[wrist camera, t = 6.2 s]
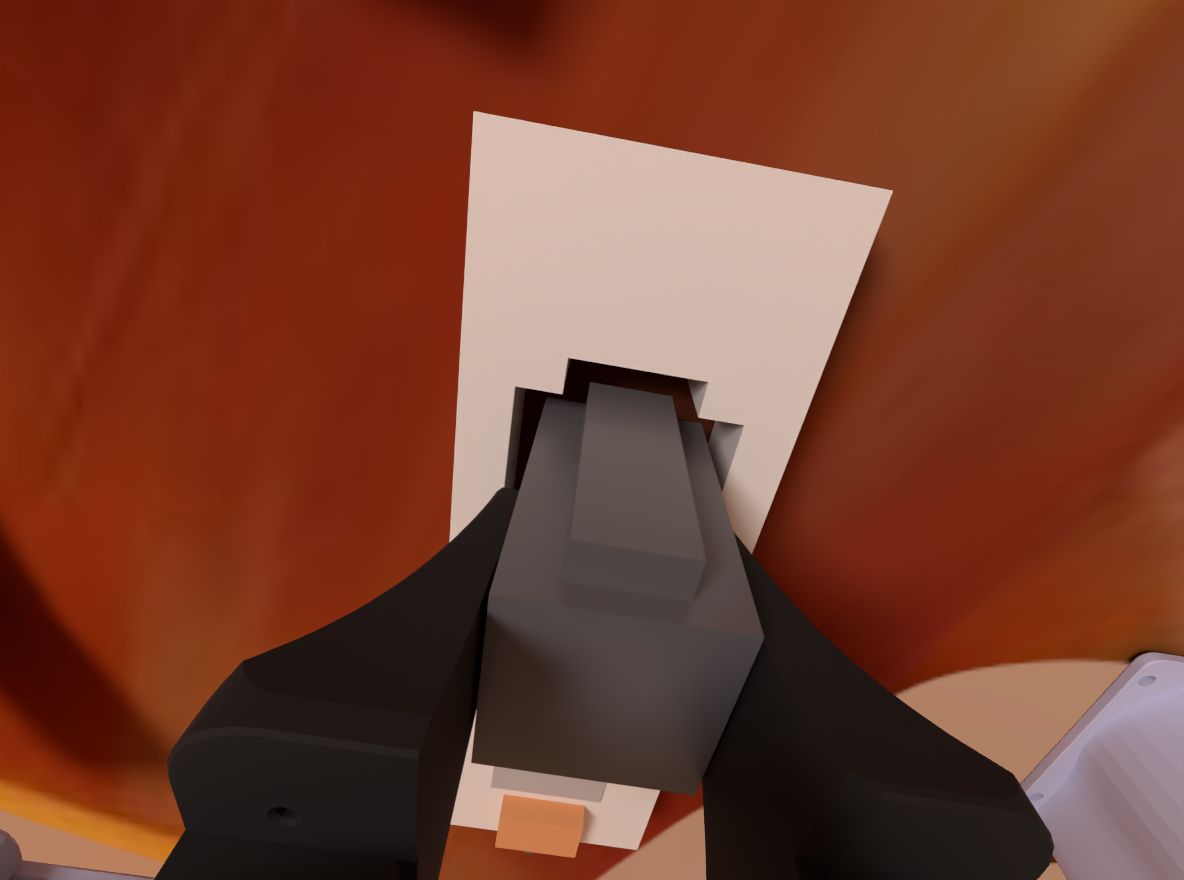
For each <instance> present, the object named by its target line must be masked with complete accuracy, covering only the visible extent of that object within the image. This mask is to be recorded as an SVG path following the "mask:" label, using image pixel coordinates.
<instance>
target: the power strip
mask: <svg viewBox="0 0 1184 880" xmlns="http://www.w3.org/2000/svg"><path fill="white" fill-rule="evenodd" d="M892 192H893V191H892V190H886V189H881V188H876V187H870V186H865V185H860V184H855V183H849V182H844V181H839V180H834V179H828V178H823V177H818V176H812V175H807V174H802V173H797V172H791V171H786V170H781V169H776V168H770V167H765V166H760V165H755V164H749V163H744V162H739V161H733V160H728V159H723V158H718V157H712V156H707V155H702V154H697V153H691V152H686V151H681V150H675V149H670V148H665V147H660V146H654V145H649V144H644V143H639V142H633V141H628V140H623V139H618V138H612V137H607V136H602V135H596V134H591V133H586V132H581V131H575V130H570V129H565V128H560V127H554V126H549V125H544V124H538V123H533V122H528V121H523V120H517V119H512V118H507V117H502V116H496V115H491V114H486V113H481V112H475V111H474V114H473V132H472V150H471V168H470V186H469V204H468V222H467V239H466V257H465V275H464V293H463V311H462V329H461V347H460V365H459V382H458V400H457V418H456V436H455V454H454V472H453V490H452V507H451V525H450V542H451V541H452V540H453V539H454V538H455V537H456V536H457V535H458V534H459V533H460V532H461V531H462V530H463V529H464V528H465V527H466V526H467V525H468V524H469V523H470V522H471V521H472V520H473V519H474V518H475V517H476V516H477V515H478V513H479V512H480V511H481V510H482V509H483V508H484V507H485V506H486V504H487V503H488V502H489V501H490V500H491V498H492V497H493V496H494V495H495V493H496V492H497V491H498V490H499V489H501V488H502V487H505V488H511V489H514V485H515V476H516V468H517V460H518V451H519V443H520V434H521V426H522V418H523V409H524V401H525V392H526V388H528V389H534V390H540V391H545V392H551V393H557V394H563V390H564V385H565V381H566V377H567V372H568V368H569V363H570V359H571V358H572V359H578V360H584V361H589V362H595V363H601V364H607V365H613V366H618V367H624V368H630V369H636V370H641V371H647V372H653V373H659V374H665V375H670V376H676V377H682V378H687V381H688V384H689V387H690V391H691V394H692V398H693V401H694V405H695V408H696V411H697V415H698V418H704V419H710V420H715V423H714V426H713V429H712V433H711V436H710V439H709V442H708V447H709V450H710V454H711V457H712V461H713V464H714V467H715V471H716V474H717V478H718V481H719V484H720V488H721V491H722V495H723V498H724V501H725V505H726V508H727V512H728V515H729V519H730V522H731V525H732V529H733V531H734V532H735V534H736V535H737V536H738V537H739V539H740V540H741V541H742V542H743V544H744V545H745V546H746V548H747V549H748V550H749V551H750V553H751V554H752V553H753V550H754V547H755V545H756V542H757V540H758V537H759V535H760V532H761V529H762V527H763V524H764V522H765V519H766V517H767V514H768V511H769V509H770V506H771V504H772V501H773V499H774V496H775V493H776V491H777V488H778V486H779V483H780V481H781V478H782V475H783V473H784V470H785V468H786V465H787V463H788V460H789V457H790V455H791V452H792V450H793V447H794V445H795V442H796V439H797V437H798V434H799V432H800V429H801V426H802V424H803V421H804V419H805V416H806V414H807V411H808V408H809V406H810V403H811V401H812V398H813V396H814V393H815V390H816V388H817V385H818V383H819V380H820V378H821V375H822V372H823V370H824V367H825V365H826V362H827V360H828V357H829V354H830V352H831V349H832V347H833V344H834V342H835V339H836V336H837V334H838V331H839V329H840V326H841V324H842V321H843V318H844V316H845V313H846V311H847V308H848V306H849V303H850V300H851V298H852V295H853V293H854V290H855V288H856V285H857V282H858V280H859V277H860V275H861V272H862V269H863V267H864V264H865V262H866V259H867V257H868V254H869V251H870V249H871V246H872V244H873V241H874V239H875V236H876V233H877V231H878V228H879V226H880V223H881V221H882V218H883V215H884V213H885V210H886V208H887V205H888V203H889V200H890V197H891V195H892ZM476 712H477V710H476ZM475 722H476V714H475V718H474V723H473V727H472V731H471V736H470V740H469V744H468V748H467V753H466V757H465V762H464V766H463V770H462V775H461V779H460V784H459V788H458V792H457V797H456V801H455V806H454V810H453V815H452V819H451V824H453V825H460V826H467V827H474V828H482V829H489V830H496V831H497V838H496V844H495V847H499V848H506V849H513V850H521V851H524V852H525V853H527V854H532V853H543V854H550V855H557V856H565V857H572V858H575V855H576V851H577V848H578V845H579V842H583V843H590V844H598V845H605V846H612V847H620V848H627V849H634V850H637V849H638V846H639V843H640V841H641V838H642V836H643V833H644V831H645V828H646V825H647V823H648V820H649V818H650V815H651V813H652V810H653V807H654V805H655V802H656V800H657V797H658V795H659V792H660V790H653V789H646V788H640V787H633V786H626V785H619V784H612V783H605V782H598V781H591V780H584V779H578V778H571V777H564V776H557V775H550V774H543V773H536V772H529V771H523V770H516V769H509V768H502V767H495V766H488V765H481V764H474V763H471V759H472V750H473V740H474V731H475Z"/></svg>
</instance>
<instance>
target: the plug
mask: <svg viewBox="0 0 1184 880" xmlns="http://www.w3.org/2000/svg"><path fill="white" fill-rule="evenodd" d="M763 640H764V634H763V631H762V628H761V624H760V621H759V617H758V614H757V610H756V607H755V604H754V600H753V597H752V593H751V590H750V587H749V583H748V580H747V576H746V573H745V570H744V566H743V563H742V559H741V556H740V553H739V549H738V546H737V542H736V539H735V536H734V532H733V529H732V525H731V522H730V519H729V515H728V512H727V508H726V505H725V501H724V498H723V495H722V491H721V488H720V484H719V481H718V478H717V474H716V471H715V467H714V464H713V461H712V457H711V454H710V450H709V447H708V444H707V440H706V437H705V433H704V430H703V427H702V423H696V422H691V421H685V420H679V419H677V417H676V412H675V408H674V403H673V398H672V396H668V395H662V394H657V393H651V392H645V391H639V390H634V389H628V388H622V387H616V386H611V385H605V384H599V383H593V382H590V385H589V391H588V396H587V402H586V403H580V402H574V401H568V400H563V399H557V398H551V397H547V398H546V401H545V405H544V408H543V412H542V415H541V418H540V422H539V425H538V429H537V432H536V435H535V439H534V442H533V446H532V449H531V453H530V456H529V459H528V463H527V466H526V470H525V473H524V476H523V480H522V483H521V487H520V490H519V494H518V497H517V500H516V504H515V507H514V511H513V514H512V517H511V521H510V524H509V528H508V531H507V535H506V538H505V541H504V545H503V548H502V552H501V555H500V559H499V562H498V565H497V569H496V572H495V576H494V579H493V582H492V586H491V589H490V593H489V599H488V608H487V618H486V627H485V637H484V646H483V656H482V665H481V674H480V684H479V693H478V703H477V712H476V722H475V731H474V740H473V750H472V759H471V763H474V764H481V765H488V766H495V767H502V768H509V769H516V770H523V771H529V772H536V773H543V774H550V775H557V776H564V777H571V778H578V779H584V780H591V781H598V782H605V783H612V784H619V785H626V786H633V787H640V788H646V789H653V790H660V791H667V792H674V793H681V794H688V795H695V793H696V791H697V789H698V787H699V784H700V782H701V780H702V778H703V775H704V773H705V771H706V769H707V766H708V764H709V762H710V760H711V757H712V755H713V753H714V751H715V748H716V746H717V744H718V742H719V739H720V737H721V735H722V733H723V730H724V728H725V726H726V724H727V721H728V719H729V717H730V715H731V712H732V710H733V708H734V706H735V703H736V701H737V699H738V697H739V694H740V692H741V690H742V688H743V685H744V683H745V681H746V679H747V676H748V674H749V672H750V669H751V667H752V665H753V663H754V660H755V658H756V656H757V654H758V651H759V649H760V647H761V645H762V642H763Z"/></svg>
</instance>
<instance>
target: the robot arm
mask: <svg viewBox="0 0 1184 880" xmlns="http://www.w3.org/2000/svg"><path fill="white" fill-rule="evenodd" d="M518 494H519V490H517V489H511V488H505V487H502V488H501V489H499V490H498V491H497V492H496V493H495V495H494V496H493V497H492V498H491V500H490V501H489V502H488V503H487V504H486V506H485V507H484V508H483V509H482V510H481V511H480V512H479V513H478V515H477V516H476V517H475V518H474V519H473V520H472V521H471V522H470V523H469V524H468V525H467V526H466V527H465V528H464V529H463V530H462V531H461V532H460V533H459V534H458V535H457V536H456V537H455V538H454V539H453V540H452V541H451V542H449V543H448V544H447V545H446V546H445V547H444V548H443V549H441V550H440V551H439V552H438V553H437V554H436V555H435V556H433V557H432V558H431V559H430V560H429V561H428V562H426V563H425V564H424V565H422V566H421V567H420V568H419V569H417V570H416V571H415V572H413V573H412V574H411V575H409V576H408V577H407V578H405V579H404V580H402V581H401V582H400V583H398V584H397V585H395V586H394V587H392V588H391V589H389V590H388V591H386V592H385V593H383V594H381V595H380V596H378V597H377V598H375V599H374V600H372V601H371V602H369V603H367V604H365V605H364V606H362V607H360V608H359V609H357V610H355V611H353V612H352V613H350V614H348V615H346V616H344V617H342V618H340V619H338V620H336V621H334V622H332V623H331V624H329V625H327V626H325V627H323V628H321V629H318V630H316V631H314V632H312V633H310V634H308V635H306V636H303V637H301V638H299V639H297V640H294V641H292V642H289V643H287V644H284V645H282V646H279V647H277V648H275V649H272V650H270V651H267V652H265V653H262V654H260V655H258V656H255V657H252V658H250V659H247V660H244V661H243V662H241V664H240V665H239V666H238V667H237V668H236V669H235V671H234V672H233V673H232V674H231V675H230V676H229V677H228V678H227V679H226V680H225V681H224V682H223V683H222V684H221V686H220V687H219V688H218V689H217V690H216V691H215V693H214V694H213V695H212V696H211V697H210V699H209V700H208V701H207V702H206V704H205V705H204V707H203V708H202V709H201V711H200V712H199V713H198V715H197V716H196V717H195V719H194V720H193V721H192V723H191V724H190V725H189V727H188V728H187V729H186V731H185V732H184V734H183V735H182V736H181V738H180V739H179V740H178V742H177V743H176V744H175V746H174V747H173V749H172V751H171V754H170V756H169V758H168V761H167V766H168V775H169V780H170V784H171V787H172V790H173V793H174V796H175V799H176V802H177V805H178V808H179V811H180V814H181V817H182V820H183V823H184V826H185V829H186V830H185V832H184V833H183V835H182V836H181V838H180V839H179V841H178V843H177V844H176V846H175V847H174V849H173V850H172V852H171V854H170V855H169V857H168V858H167V860H166V862H165V863H164V865H163V866H162V868H161V869H160V871H159V873H158V874H157V876H156V877H155V878H152V877H145V876H138V875H129V874H122V873H115V872H107V871H99V870H91V869H83V868H77V867H69V866H61V865H53V864H46V863H39V862H31V861H23V860H22V855H21V852H20V849H19V846H18V844H17V843H16V841H15V840H14V839H13V838H12V837H11V836H10V835H9V834H8V833H6V832H4V831H2V830H0V880H438V878H439V873H440V869H441V864H442V860H443V855H444V851H445V846H446V842H447V837H448V833H449V828H450V824H451V819H452V815H453V810H454V806H455V801H456V797H457V792H458V788H459V784H460V779H461V775H462V770H463V766H464V762H465V757H466V753H467V748H468V744H469V740H470V736H471V731H472V727H473V723H474V718H475V714H476V710H477V703H478V693H479V684H480V674H481V665H482V656H483V646H484V637H485V627H486V618H487V608H488V599H489V593H490V589H491V586H492V582H493V579H494V576H495V572H496V569H497V565H498V562H499V559H500V555H501V552H502V548H503V545H504V541H505V538H506V535H507V531H508V528H509V524H510V521H511V517H512V514H513V511H514V507H515V504H516V500H517V497H518ZM733 532H734V531H733ZM734 536H735V539H736V542H737V546H738V549H739V553H740V556H741V559H742V563H743V566H744V570H745V573H746V576H747V580H748V583H749V587H750V590H751V593H752V597H753V600H754V604H755V607H756V610H757V614H758V617H759V621H760V624H761V628H762V631H763V634H764V640H763V642H762V645H761V647H760V649H759V651H758V654H757V656H756V658H755V660H754V663H753V665H752V667H751V669H750V672H749V674H748V676H747V679H746V681H745V683H744V685H743V688H742V690H741V692H740V694H739V697H738V699H737V701H736V703H735V706H734V708H733V710H732V712H731V715H730V717H729V719H728V721H727V724H726V726H725V728H724V730H723V733H722V735H721V737H720V739H719V742H718V744H717V746H716V748H715V751H714V753H713V755H712V757H711V760H710V762H709V764H708V766H707V769H706V771H705V773H704V775H703V778H702V786H703V805H704V824H705V845H706V846H705V847H706V879H707V880H1037V879H1038V878H1039V877H1040V876H1041V874H1042V873H1043V872H1044V871H1045V870H1046V868H1047V867H1048V866H1049V864H1050V861H1051V858H1052V855H1053V857H1054V858H1055V860H1056V862H1057V863H1058V865H1059V867H1060V868H1061V870H1062V871H1063V873H1064V875H1065V876H1066V878H1067V879H1068V880H1184V657H1182V656H1176V655H1169V654H1163V653H1157V652H1149V653H1144V654H1142V655H1140V656H1138V657H1137V658H1135V659H1134V660H1133V661H1132V662H1131V663H1130V665H1129V666H1128V667H1127V668H1126V669H1125V670H1124V671H1123V672H1122V673H1121V674H1120V675H1119V677H1118V678H1117V679H1116V680H1115V681H1114V682H1113V683H1112V684H1111V685H1110V686H1109V688H1108V689H1107V690H1106V691H1105V692H1104V693H1103V694H1102V695H1101V696H1100V697H1099V698H1098V700H1097V701H1096V702H1095V703H1094V704H1093V705H1092V706H1091V707H1090V708H1089V710H1087V712H1086V713H1085V714H1084V715H1083V716H1082V717H1081V718H1080V720H1079V721H1077V723H1076V724H1075V725H1074V726H1073V727H1072V728H1071V729H1070V730H1069V731H1068V733H1067V734H1066V735H1065V736H1064V737H1063V738H1062V739H1061V740H1060V741H1059V742H1058V743H1057V744H1056V746H1055V747H1054V748H1053V749H1052V750H1051V751H1050V752H1049V753H1048V754H1047V755H1046V756H1045V758H1044V759H1043V760H1042V761H1041V762H1040V763H1039V764H1038V765H1037V766H1036V768H1034V770H1033V771H1032V772H1031V773H1030V774H1029V775H1028V776H1027V777H1026V779H1024V781H1023V782H1022V783H1021V784H1019V782H1018V781H1017V779H1016V778H1015V776H1014V775H1013V774H1012V773H1011V772H1009V771H1008V770H1006V769H1004V768H1003V767H1001V766H999V765H998V764H996V763H995V762H993V761H991V760H990V759H988V758H987V757H985V756H983V755H982V754H980V753H978V752H977V751H975V750H974V749H972V748H970V747H969V746H967V745H965V744H964V743H962V742H960V741H959V740H957V739H956V738H954V737H953V736H951V735H950V734H948V733H946V732H945V731H944V730H942V729H941V728H939V727H938V726H936V725H935V724H933V723H932V722H931V721H929V720H928V719H926V718H925V717H923V716H922V715H921V714H919V713H918V712H916V711H915V710H913V709H912V708H911V707H909V706H908V705H907V704H905V703H904V702H903V701H901V700H900V699H899V698H897V697H896V696H894V695H893V694H892V693H891V692H889V691H888V690H887V689H885V688H884V687H883V686H882V685H881V684H879V683H878V682H877V681H876V680H874V679H873V678H872V677H871V676H869V675H868V674H867V673H866V672H864V671H863V670H862V669H861V668H860V667H858V666H857V665H856V664H855V663H854V662H853V661H851V660H850V659H849V658H848V657H847V656H846V655H845V654H843V653H842V652H841V651H840V650H839V649H838V648H837V647H836V646H835V645H834V644H833V643H832V642H831V641H829V640H828V639H827V638H826V637H825V636H824V635H823V634H822V633H821V632H820V631H819V630H818V629H817V628H816V627H815V626H814V625H813V624H812V623H811V622H810V621H809V620H808V619H807V618H806V617H805V616H804V615H803V614H802V613H801V611H800V610H799V609H798V608H797V607H796V606H795V605H794V604H793V603H792V602H791V601H790V600H789V598H788V597H787V596H786V595H785V594H784V593H783V592H782V591H781V589H780V588H779V587H778V586H777V585H776V584H775V582H774V581H773V580H772V579H771V578H770V576H769V575H768V574H767V573H766V571H765V570H764V569H763V568H762V567H761V565H760V564H759V563H758V562H757V560H756V559H755V558H754V556H753V555H752V554H751V553H750V551H749V550H748V549H747V548H746V546H745V545H744V544H743V542H742V541H741V540H740V539H739V537H738V536H737V535H736V534H735V532H734Z"/></svg>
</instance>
